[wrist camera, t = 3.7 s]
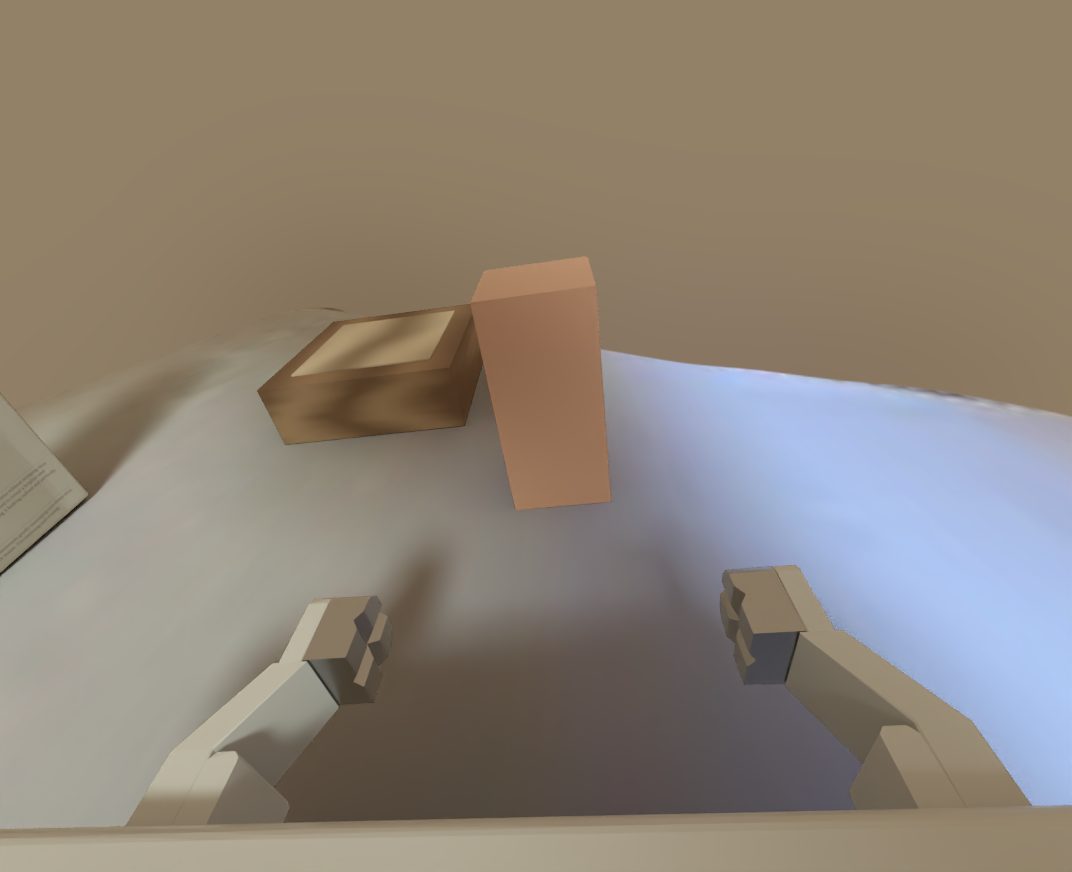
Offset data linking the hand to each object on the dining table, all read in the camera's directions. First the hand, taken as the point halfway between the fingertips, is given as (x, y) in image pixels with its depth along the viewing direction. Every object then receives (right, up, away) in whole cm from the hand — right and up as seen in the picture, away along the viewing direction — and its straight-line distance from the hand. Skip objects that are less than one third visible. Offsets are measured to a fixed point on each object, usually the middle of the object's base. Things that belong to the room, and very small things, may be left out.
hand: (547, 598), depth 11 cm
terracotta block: (+1, +2, +13) cm, 13 cm away
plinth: (-11, +7, +24) cm, 27 cm away
